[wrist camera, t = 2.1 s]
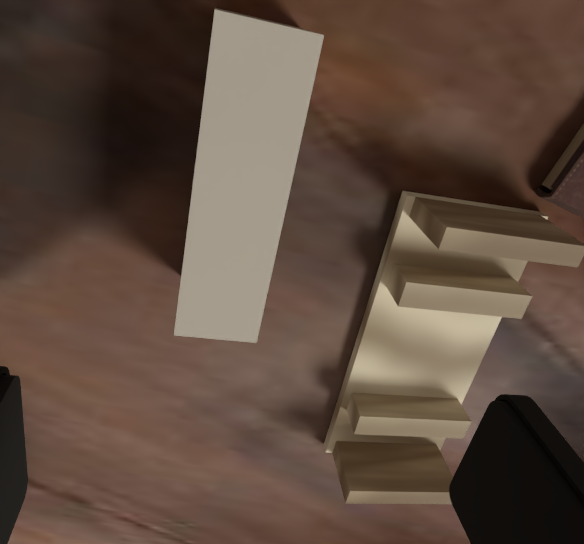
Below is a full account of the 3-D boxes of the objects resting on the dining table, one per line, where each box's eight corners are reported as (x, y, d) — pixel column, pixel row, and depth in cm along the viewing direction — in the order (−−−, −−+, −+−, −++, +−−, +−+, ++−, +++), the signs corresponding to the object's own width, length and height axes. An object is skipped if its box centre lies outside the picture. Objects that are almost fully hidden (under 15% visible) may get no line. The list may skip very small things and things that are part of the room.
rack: (402, 190, 28) (437, 225, 23) (540, 211, 30) (596, 247, 25) (323, 443, 37) (338, 503, 32) (433, 447, 39) (461, 504, 34)
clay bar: (214, 7, 22) (214, 9, 17) (299, 27, 23) (324, 35, 18) (181, 274, 29) (174, 335, 23) (249, 282, 29) (256, 342, 24)
